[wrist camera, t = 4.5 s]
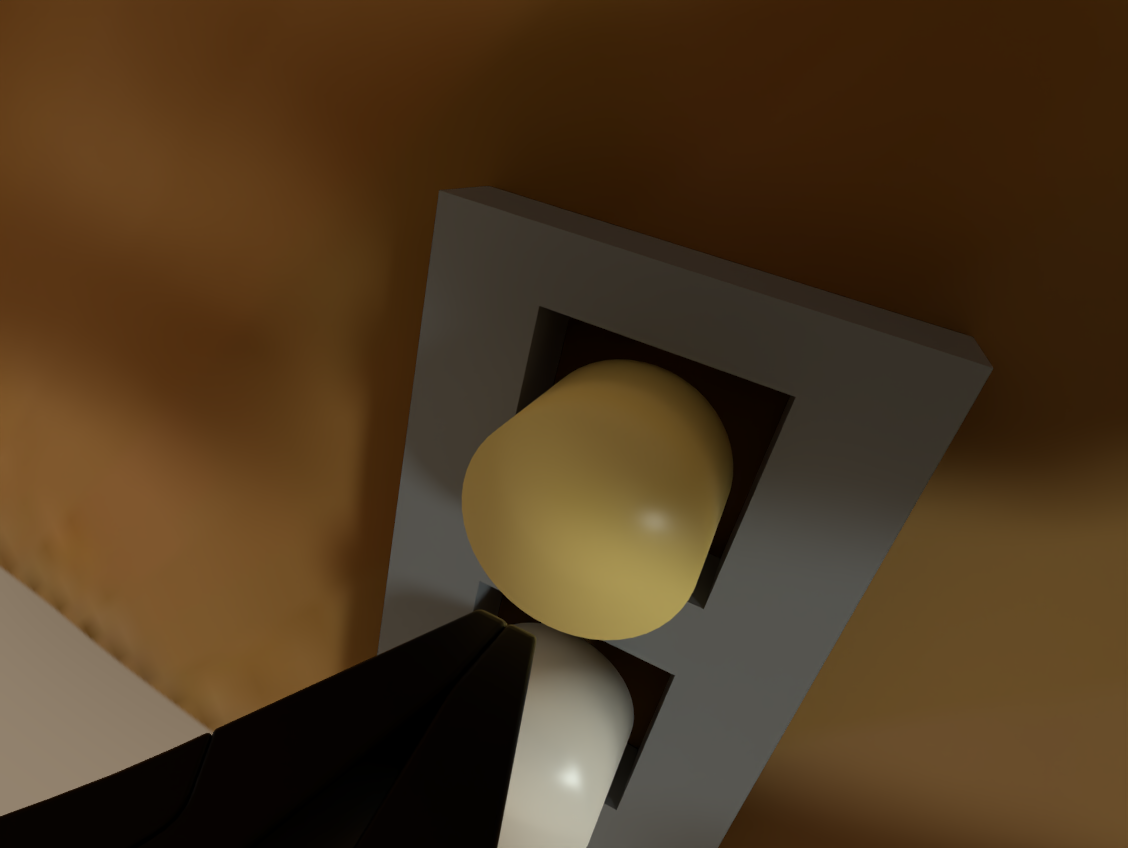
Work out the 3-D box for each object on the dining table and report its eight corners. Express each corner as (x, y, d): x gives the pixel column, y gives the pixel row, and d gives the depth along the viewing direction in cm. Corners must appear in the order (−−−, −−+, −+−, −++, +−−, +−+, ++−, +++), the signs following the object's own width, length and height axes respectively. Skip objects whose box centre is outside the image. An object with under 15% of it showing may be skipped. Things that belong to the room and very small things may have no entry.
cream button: (655, 673, 15) (614, 781, 12) (608, 786, 17) (564, 900, 14) (494, 595, 16) (426, 679, 13) (468, 710, 18) (403, 802, 15)
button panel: (973, 337, 12) (993, 368, 10) (638, 950, 22) (619, 1017, 20) (489, 185, 14) (439, 190, 13) (387, 798, 24) (351, 847, 23)
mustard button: (766, 405, 12) (742, 474, 9) (693, 581, 14) (656, 679, 11) (557, 329, 13) (483, 373, 10) (516, 503, 15) (445, 575, 12)
